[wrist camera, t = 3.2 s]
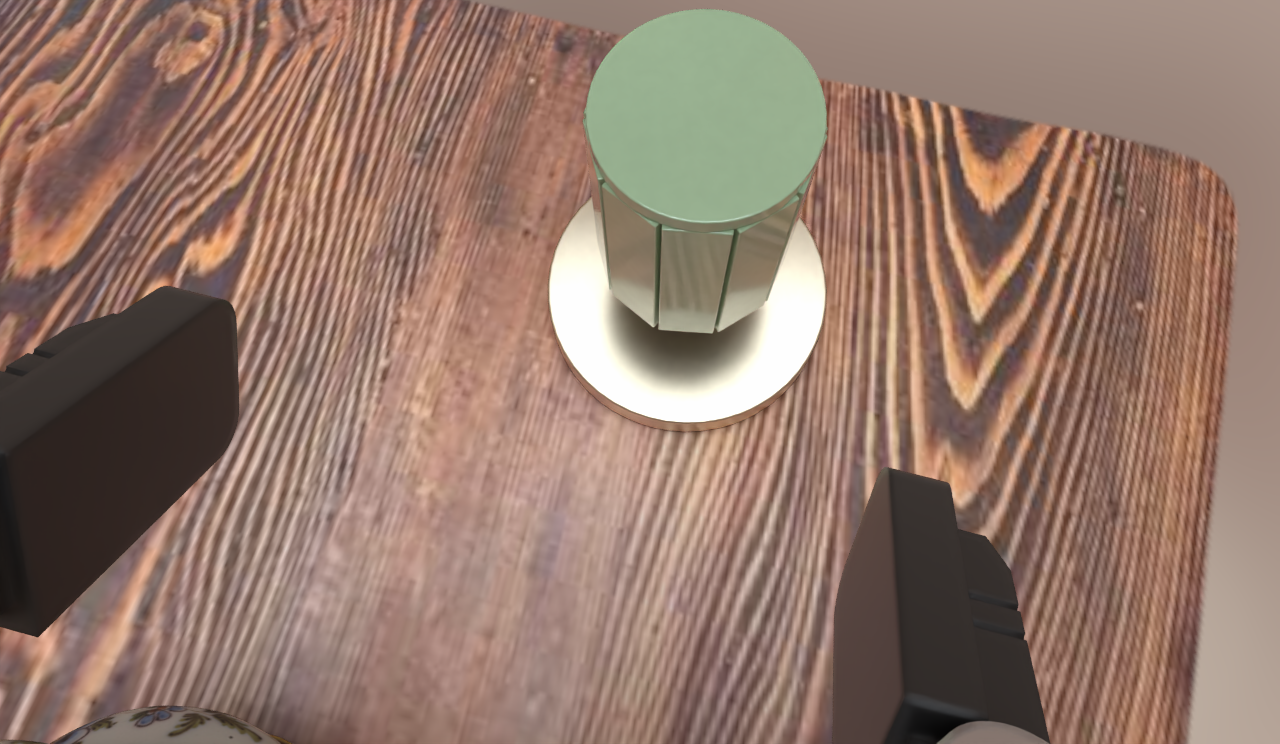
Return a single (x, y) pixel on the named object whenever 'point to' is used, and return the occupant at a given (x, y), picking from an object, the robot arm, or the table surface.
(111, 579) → the table surface
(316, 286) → the table surface
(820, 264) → the towel holder
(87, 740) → the apothecary jar
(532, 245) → the table surface
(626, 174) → the green grooved cylinder
